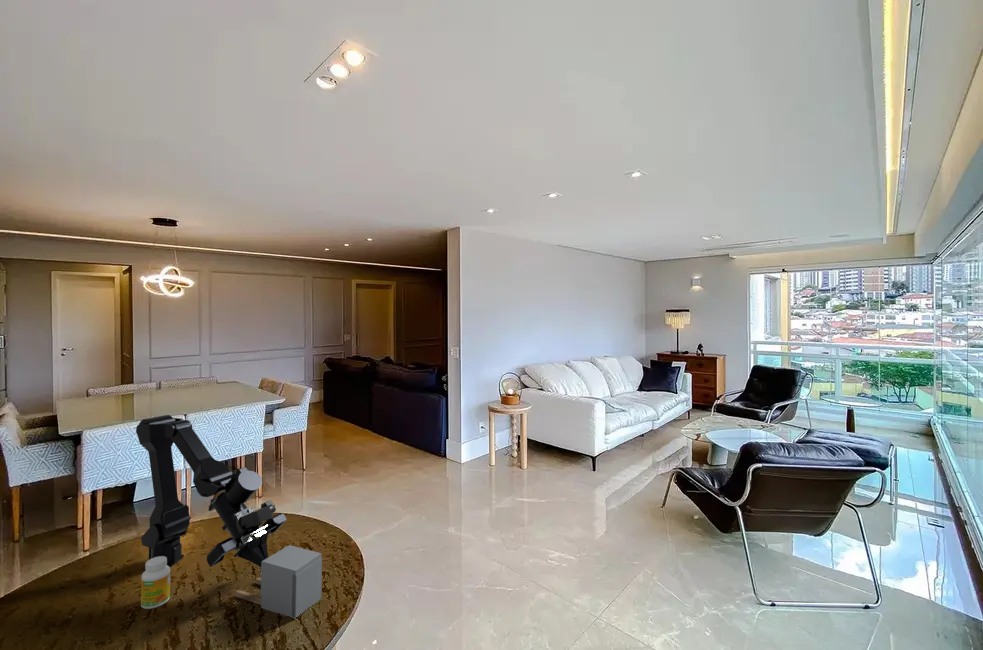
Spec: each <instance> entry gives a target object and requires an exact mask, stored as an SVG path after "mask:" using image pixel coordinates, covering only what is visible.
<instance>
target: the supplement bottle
mask: <svg viewBox="0 0 983 650" xmlns="http://www.w3.org/2000/svg"><path fill="white" fill-rule="evenodd" d="M144 566H145V569H144V570H145V571H143V572H142V574H141V577H140V579H141V580H140V581H141V582H140V583H141V584H140V586H141V587H140V606H141V608H143V609H146V610H151V609H155V608H158V607H161V606H162V605H165V604H166V603H167V602H168V601H169V599H170V598H171V567H169V566H167V558H166V557H164V556H159V557H155V558H152V559H150V560H149V559H148V560H147V561H145V565H144Z"/></svg>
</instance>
